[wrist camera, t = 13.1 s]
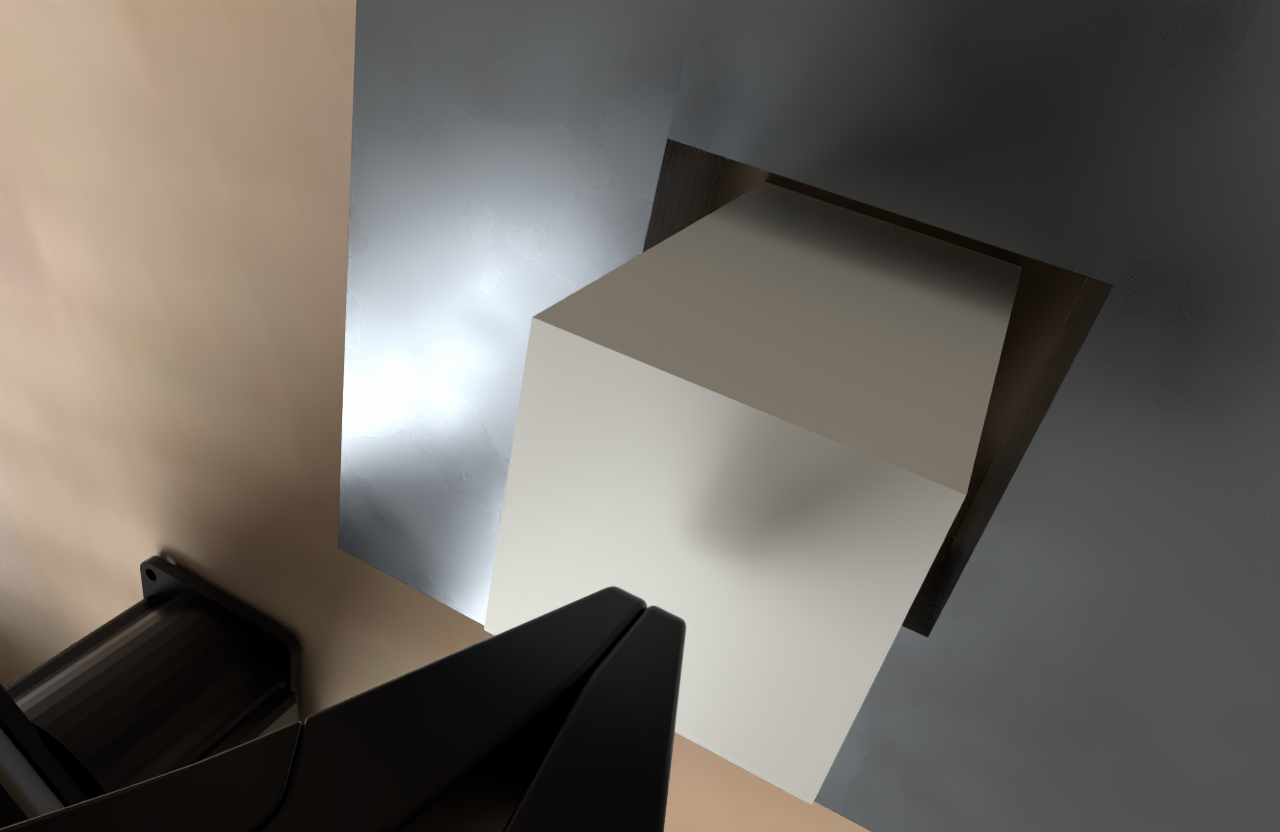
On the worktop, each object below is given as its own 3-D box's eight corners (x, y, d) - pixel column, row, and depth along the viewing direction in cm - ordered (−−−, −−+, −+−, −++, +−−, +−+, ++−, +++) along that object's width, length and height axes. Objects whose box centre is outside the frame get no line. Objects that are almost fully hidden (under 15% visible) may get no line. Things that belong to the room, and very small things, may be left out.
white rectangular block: (703, 398, 18) (484, 629, 11) (764, 181, 16) (531, 317, 9) (919, 487, 17) (811, 805, 10) (1022, 267, 14) (966, 494, 8)
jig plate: (419, 487, 23) (337, 547, 20) (490, -278, 14) (367, -333, 12) (1139, 842, 18) (1147, 978, 15) (1860, -9, 10) (2127, -10, 7)
